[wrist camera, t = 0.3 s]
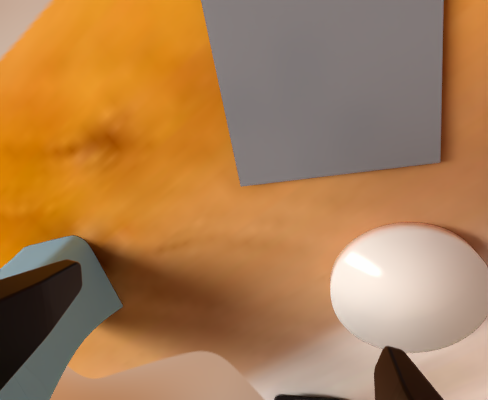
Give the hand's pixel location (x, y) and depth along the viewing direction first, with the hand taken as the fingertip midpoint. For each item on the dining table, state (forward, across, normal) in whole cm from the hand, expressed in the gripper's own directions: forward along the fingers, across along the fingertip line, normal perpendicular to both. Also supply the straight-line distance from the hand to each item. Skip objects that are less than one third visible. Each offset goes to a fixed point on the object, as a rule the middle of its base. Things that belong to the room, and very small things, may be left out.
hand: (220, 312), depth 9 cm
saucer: (+14, -10, +6) cm, 19 cm away
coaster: (+13, -1, -6) cm, 15 cm away
